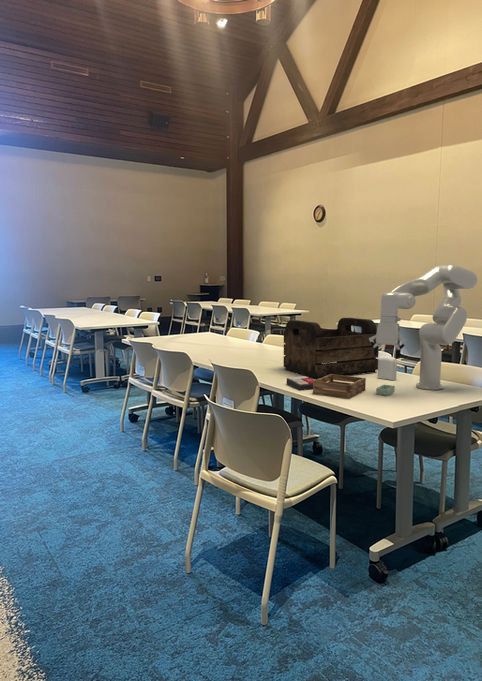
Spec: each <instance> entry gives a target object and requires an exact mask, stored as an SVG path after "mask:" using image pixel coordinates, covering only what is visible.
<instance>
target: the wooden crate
mask: <svg viewBox="0 0 482 681" xmlns="http://www.w3.org/2000/svg"><path fill="white" fill-rule="evenodd" d="M352 327H359V328H360V329H361V332H359V331H353V330H352ZM377 328H378V327H377V325H376V323H375V321H374V320H373V319H367V318H357V317H341V318H340V319H339V320H338V321H337V326H336V328H335V329H334V328H331V329H322V328H321V326H320V324H319V323H317V322H314V321H306V320H299V319H298V320H297V319H295V320H292V319H291V320H288V321H287V322H286V324H285V329H284V331H285V332H283V367H284V368H285V369H284V370H285V371H287V372H291V373H294V374H296V375H300V376H306V377H308V378H310V379H312V380H317V379H320V378H322V377H325V376H327V375H330V374H335V375H343V376H355V374H356V375H363V374H362V373H365V374H370V373H369V372H373V373H376V371H378V359H379V355H378V356H375V354H374V347H373V346H372V344H371V342H370V340H369V338H370V337H372V336H375V335H376V334H377ZM300 330H301V331H300ZM373 341H374V342H375V344H376V338H375V339H373ZM378 348H379V346H378ZM379 349H380V348H379Z"/></svg>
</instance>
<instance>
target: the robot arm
mask: <svg viewBox="0 0 482 681" xmlns="http://www.w3.org/2000/svg"><path fill="white" fill-rule="evenodd" d="M477 283H478V276H477V274H476V273H475V272H474V271H472V270H470V269H468V268H465V267H462V266H459V265H455V264H440V265H435V266H433V267H431V269H429V270H428V271H425V273H423V274H422V275H420V276H419V277H417V278H415V279H413V280H410V281H408V282H406V283H403V284H401V285H399V286H396V288H395V289H393V290H391V291H390V292H384V293H382V294H381V297H380V299H381V300H380V317H379V318H380V319H379V322H378V325H377V327H376V328H377V334H376V335H375V336H372V337H370V338H369V340H370V342H371V344H372V346H373V347H374V354H375V356H378V357H379V354H380V353H379V350H380V348H378V347H379V346H380V345H384V346H395V348H396V350H395V359H396V360H397V359H399V358H400V357H401V351H402V349H403V348H404V347H405V346H406V344H407V343H408V340H407V339H406V338H403V337H402V336H401V326H400V323H399V322H401V320H402V318H399V316H398V314H399V313H398V312H399V309H400V310H409V309H412V308H413V307H414V306H415V305H416V301H417V299H416V297H419V296H423V295H427V294H429V293H431V292H432V291H434V290H435V289H436V288H437V287H438V286H440V285H442V286H443V297H442V298H441V300H440V303H439V304H438V306H437V307H436V308H435V310H434V312H433V313H432V320H433V322H434V323H433V322H428V323H427V322H426V323H425V324H422V325H421V327H420V328H419V330H418V331H419V332H418V335H419V336H418V337H419V342H420V360H419V382H417V383H416V384H415V387H416V388H418V389H421V390H427V391H429V390H430V391H439V390H443V389H444V385H443V384H441V377H442V376H441V375H442V374H441V373H442V355H443V354H442V348H441V346H440V345H442V346H449V345H451V344H453V343H454V342H455V341H456V339H457V338H458V336H459V334H460V333H461V331H462V330H463V328H464V327H465V325H466V323H467V319H468V313H467V311H466V309H465V308H464V307H462V306H461V304H462V297H461V294H460V291H459V290H471V289H473V288H474V287H475V286H476V285H477ZM375 338H376V344H375V342H374V341H373V339H375ZM401 342H402V343H401Z"/></svg>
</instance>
